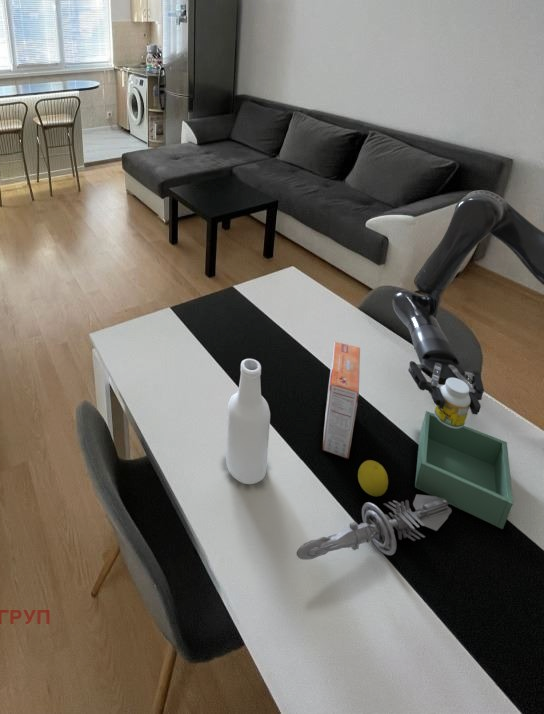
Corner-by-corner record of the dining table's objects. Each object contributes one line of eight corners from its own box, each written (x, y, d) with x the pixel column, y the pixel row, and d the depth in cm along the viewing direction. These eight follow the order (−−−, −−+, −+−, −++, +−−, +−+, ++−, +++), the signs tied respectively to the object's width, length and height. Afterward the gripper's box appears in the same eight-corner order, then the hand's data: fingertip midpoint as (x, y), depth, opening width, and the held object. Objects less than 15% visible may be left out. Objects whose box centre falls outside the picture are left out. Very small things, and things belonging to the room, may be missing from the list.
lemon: (352, 475, 93) (357, 450, 90) (380, 480, 92) (386, 454, 89) (359, 502, 88) (364, 476, 85) (388, 507, 87) (394, 481, 84)
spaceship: (282, 516, 80) (309, 550, 72) (429, 472, 89) (466, 498, 81) (285, 559, 79) (313, 598, 72) (431, 510, 89) (470, 540, 81)
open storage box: (497, 466, 93) (506, 442, 91) (502, 529, 82) (513, 504, 80) (419, 433, 101) (425, 410, 98) (414, 487, 90) (421, 463, 87)
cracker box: (325, 403, 110) (334, 339, 103) (351, 411, 108) (361, 346, 100) (320, 450, 99) (329, 383, 91) (348, 460, 96) (360, 392, 89)
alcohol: (273, 465, 96) (282, 363, 85) (252, 495, 91) (258, 390, 80) (240, 440, 102) (244, 342, 91) (218, 467, 96) (219, 366, 85)
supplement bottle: (470, 426, 90) (480, 393, 86) (447, 431, 89) (457, 398, 86) (449, 405, 95) (458, 372, 91) (427, 410, 94) (436, 377, 91)
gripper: (402, 332, 103) (422, 388, 88) (471, 341, 99) (505, 402, 84) (397, 355, 106) (416, 414, 91) (464, 366, 102) (496, 429, 87)
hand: (458, 408), depth 88 cm, fingers closed on supplement bottle, 5 cm apart
